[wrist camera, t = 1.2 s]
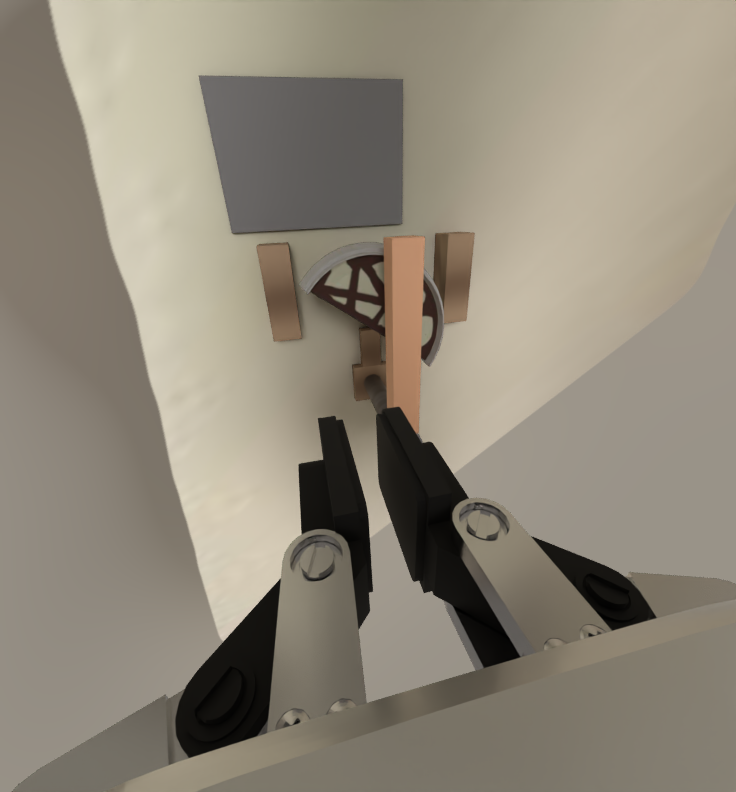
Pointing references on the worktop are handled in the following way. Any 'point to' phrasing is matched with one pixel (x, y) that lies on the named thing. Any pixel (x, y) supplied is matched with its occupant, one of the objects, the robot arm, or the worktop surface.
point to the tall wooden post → (404, 322)
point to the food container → (371, 291)
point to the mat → (307, 150)
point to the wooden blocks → (371, 373)
